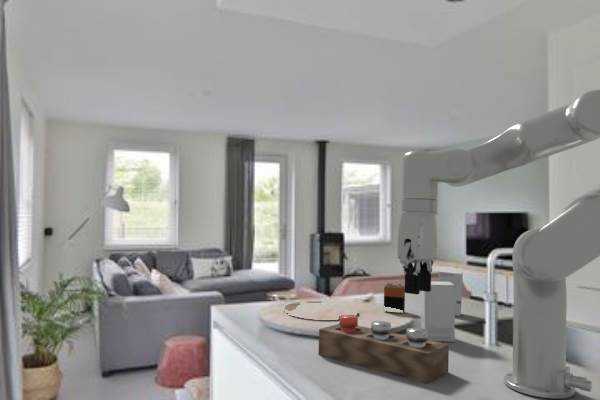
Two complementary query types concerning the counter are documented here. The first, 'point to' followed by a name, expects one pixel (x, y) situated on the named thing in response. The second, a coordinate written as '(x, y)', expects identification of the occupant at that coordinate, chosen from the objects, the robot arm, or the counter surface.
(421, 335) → the plug
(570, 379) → the robot arm
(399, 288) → the battery
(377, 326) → the plug
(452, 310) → the skincare box
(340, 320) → the red plug
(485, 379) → the counter surface
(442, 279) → the skincare box
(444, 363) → the block
